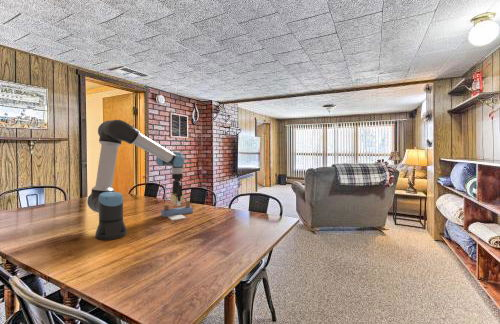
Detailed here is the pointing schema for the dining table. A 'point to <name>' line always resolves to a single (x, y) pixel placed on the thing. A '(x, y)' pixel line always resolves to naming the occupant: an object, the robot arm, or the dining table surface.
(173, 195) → the lever cap
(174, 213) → the plane body
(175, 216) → the felt mat
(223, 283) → the dining table surface
